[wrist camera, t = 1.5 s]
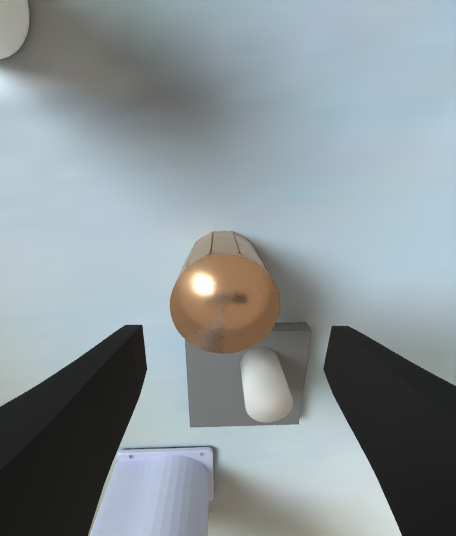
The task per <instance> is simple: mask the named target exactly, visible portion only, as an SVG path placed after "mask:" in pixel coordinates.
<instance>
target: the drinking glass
mask: <svg viewBox="0 0 456 536" xmlns="http://www.w3.org/2000/svg"><path fill="white" fill-rule="evenodd" d="M28 28H29V6H28V1H27V0H0V59H4V58H7V57H9V56H11V55H13V54H14V53H15V52H17V51H18V50H19V48H20V47H21V46H22V44H23V43H24V41H25V39H26V36H27V33H28Z"/></svg>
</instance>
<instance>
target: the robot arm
mask: <svg viewBox="0 0 456 536" xmlns="http://www.w3.org/2000/svg"><path fill="white" fill-rule="evenodd" d="M323 369H324V372H325V375H326V377H327V380H328V383H329V385H330V388H331V390H332V393H333V395H334V397H335V399H336V401H337V403H338V405H339V407H340V409H341V410H342V412H343V414H344V416H345V418H346V420H347V422H348V424H349V425H350V427H351V429H352V431H353V433H354V435H355V436H356V438H357V440H358V442H359V444H360V446H361V448H362V449H363V451H364V453H365V455H366V457H367V459H368V461H369V463H370V465H371V467H372V469H373V471H374V473H375V475H376V477H377V479H378V481H379V483H380V485H381V488H382V490H383V492H384V495H385V497H386V499H387V501H388V504H389V506H390V508H391V510H392V513H393V515H394V517H395V520H396V522H397V524H398V527H399V529H400V532H401V534H402V536H456V386H454V385H452V384H451V383H449V382H447V381H445V380H443V379H441V378H439V377H437V376H436V375H434V374H432V373H430V372H428V371H426V370H424V369H423V368H421V367H419V366H417V365H415V364H414V363H412V362H410V361H408V360H407V359H405V358H403V357H401V356H400V355H398V354H396V353H395V352H393V351H391V350H389V349H388V348H386V347H384V346H383V345H381V344H379V343H378V342H376V341H374V340H372V339H371V338H369V337H367V336H366V335H364V334H362V333H360V332H358V331H357V330H355V329H353V328H351V327H349V326H332V329H331V334H330V338H329V343H328V348H327V353H326V358H325V363H324V368H323ZM146 371H147V364H146V355H145V346H144V337H143V327H142V325H125V326H123V327H122V328H120V329H119V330H117V331H116V332H114V333H113V334H112V335H110V336H109V337H107V338H106V339H105V340H103V341H102V342H101V343H99V344H98V345H96V346H95V347H94V348H92V349H91V350H89V351H88V352H87V353H85V354H84V355H82V356H81V357H79V358H78V359H77V360H75V361H74V362H72V363H71V364H69V365H68V366H66V367H64V368H63V369H61V370H60V371H58V372H57V373H55V374H54V375H52V376H51V377H49V378H48V379H46V380H45V381H43V382H42V383H40V384H38V385H37V386H35V387H33V388H32V389H30V390H28V391H27V392H25V393H23V394H22V395H20V396H18V397H17V398H15V399H13V400H11V401H10V402H8V403H6V404H4V405H3V406H1V407H0V536H88V533H89V530H90V527H91V524H92V520H93V517H94V514H95V511H96V508H97V505H98V502H99V499H100V496H101V492H102V489H103V486H104V483H105V481H106V478H107V475H108V473H109V470H110V467H111V465H112V462H113V460H114V457H115V455H116V453H117V450H118V448H119V445H120V443H121V440H122V438H123V436H124V433H125V431H126V428H127V426H128V423H129V421H130V419H131V416H132V414H133V411H134V409H135V406H136V404H137V401H138V399H139V396H140V393H141V389H142V386H143V382H144V379H145V375H146ZM116 458H117V463H116V466H115V469H114V471H113V474H112V477H111V479H110V482H109V485H108V487H107V490H106V493H105V496H104V498H103V501H102V504H101V506H100V509H99V512H98V514H97V517H96V520H95V522H94V525H93V528H92V531H91V533H90V536H208V509H209V502H211V501H213V499H214V480H213V449H212V448H210V447H195V448H164V449H133V450H120V451H118V453H117V455H116Z"/></svg>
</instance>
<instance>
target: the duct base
mask: <svg viewBox="0 0 456 536" xmlns="http://www.w3.org/2000/svg"><path fill="white" fill-rule="evenodd" d="M310 338H311V329H310V328H309V326H308V325H307V323H275V325H274V327H273V328H272V330H271V331H270V333H269V334H268V335H267V336H266V337H265V338H264V339H263V340H262V341H260V342H259V343H258V344H256V345H255V346H253V347H251V348H249V349H246V350H244V351H240V352H236V353H229V354H218V353H212V352H208V351H205V350H202V349H199V348H198V347H196V346H194V345H192V344H191V343H189V342H188V341H187V340H186V339H185V347H186V364H187V381H188V399H189V416H190V427H221V426H255V425H289V424H299V418H300V411H301V404H302V396H303V389H304V382H305V375H306V367H307V360H308V353H309V346H310Z"/></svg>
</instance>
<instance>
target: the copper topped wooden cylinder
mask: <svg viewBox="0 0 456 536" xmlns="http://www.w3.org/2000/svg"><path fill="white" fill-rule="evenodd" d="M279 309H280V298H279V293H278V289H277V287H276V284H275V282H274V281H273V279H272V277H271V276H270V274H269V273H268V271H267V270H266V268H265V266H264V265H263V263H262V261H261V260H260V258H259V256H258V254H257V253H256V251H255V249H254V248H253V246H252V244H251V242H250V241H249V240H247V239H245V238H243V237H242V236H240V235H238V234H237V233H235V232H232V231H214V233H213V232H211V233H210V234H208V235H206V236H204V237H203V238H201V239H199V240H198V241H196V243H195V244H194V246H193V248H192V250H191V252H190V253H189V255H188V257H187V259H186V261H185V264H184V266H183V268H182V270H181V272H180V275H179V277H178V279H177V281H176V283H175V285H174V288H173V290H172V294H171V299H170V312H171V317H172V320H173V322H174V325H175V327H176V328H177V330H178V331H179V333H180V334H181V335H182V336H183V337H184V338H185V339H186V340H187V341H188V342H189V343H191V344H192V345H194V346H196V347H198V348H199V349H202V350H205V351H208V352H212V353H218V354H229V353H236V352H240V351H244V350H246V349H249V348H251V347H253V346H255V345H256V344H258V343H259V342H260V341H262V340H263V339H264V338H265V337H266V336H267V335H268V334H269V333H270V331H271V330H272V328H273V327H274V325H275V323H276V321H277V318H278V315H279Z"/></svg>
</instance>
